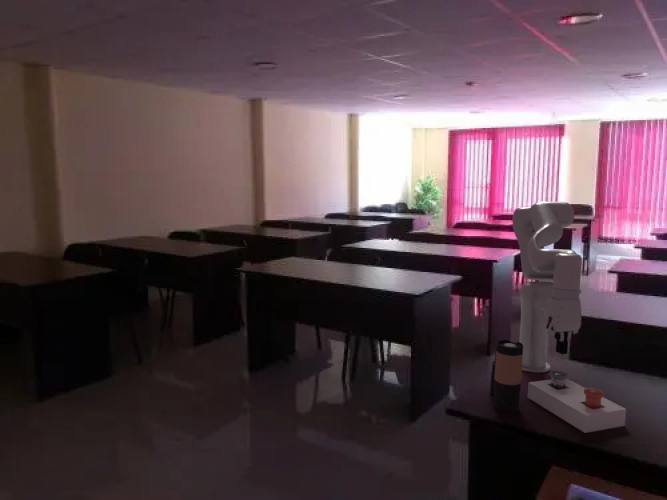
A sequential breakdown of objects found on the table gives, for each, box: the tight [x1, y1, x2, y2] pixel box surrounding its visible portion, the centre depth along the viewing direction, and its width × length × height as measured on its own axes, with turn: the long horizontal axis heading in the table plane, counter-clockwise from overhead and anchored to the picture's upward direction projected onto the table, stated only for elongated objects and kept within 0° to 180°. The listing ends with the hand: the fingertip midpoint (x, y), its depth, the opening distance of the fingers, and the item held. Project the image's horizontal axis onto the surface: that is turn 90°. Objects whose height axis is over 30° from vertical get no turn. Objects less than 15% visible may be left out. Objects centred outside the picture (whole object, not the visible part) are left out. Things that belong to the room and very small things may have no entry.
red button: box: [584, 387, 605, 409], centre depth 154 cm, size 5×5×4 cm
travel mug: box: [493, 339, 523, 413], centre depth 162 cm, size 8×8×20 cm
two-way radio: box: [489, 346, 497, 395], centre depth 173 cm, size 6×4×15 cm
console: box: [527, 378, 627, 434], centre depth 161 cm, size 24×14×5 cm, turn 19°
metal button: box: [549, 370, 569, 390], centre depth 167 cm, size 5×5×4 cm
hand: (561, 352), depth 165 cm, fingers closed
